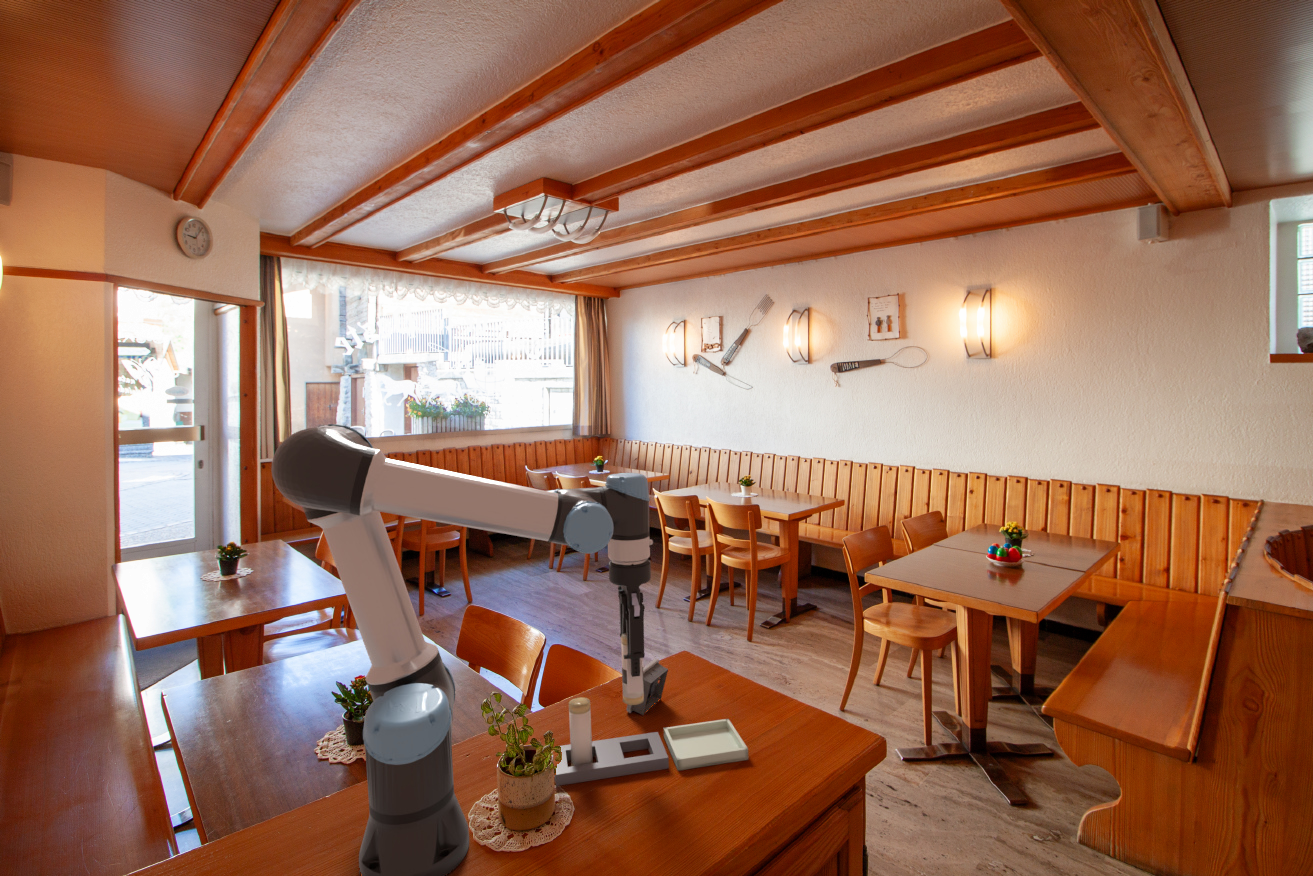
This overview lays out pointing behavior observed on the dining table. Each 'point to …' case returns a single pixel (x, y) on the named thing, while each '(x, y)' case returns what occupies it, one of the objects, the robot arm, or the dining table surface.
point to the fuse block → (614, 759)
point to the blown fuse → (627, 697)
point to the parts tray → (705, 744)
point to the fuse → (580, 731)
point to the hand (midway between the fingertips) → (632, 685)
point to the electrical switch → (651, 686)
